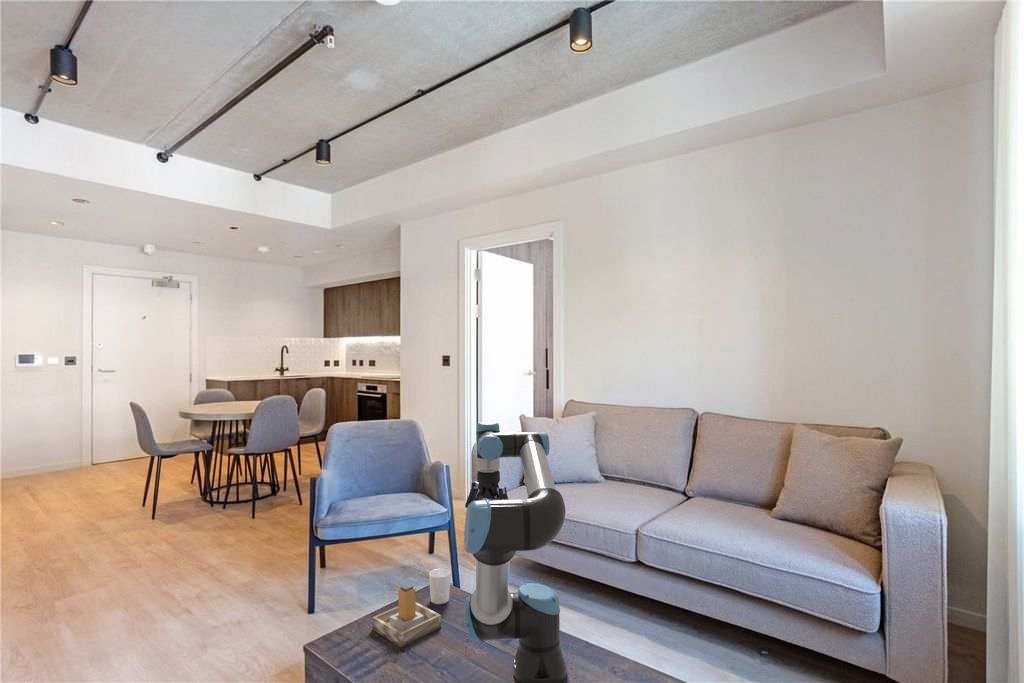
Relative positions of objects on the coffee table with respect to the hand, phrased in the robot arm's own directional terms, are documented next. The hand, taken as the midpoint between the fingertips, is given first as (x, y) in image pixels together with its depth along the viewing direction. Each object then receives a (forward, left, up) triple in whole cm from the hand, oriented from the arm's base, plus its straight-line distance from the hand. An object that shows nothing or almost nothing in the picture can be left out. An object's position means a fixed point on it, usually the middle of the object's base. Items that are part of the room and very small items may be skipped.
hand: (489, 535), depth 167 cm
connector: (+23, +16, -31) cm, 41 cm away
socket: (+23, +16, -32) cm, 42 cm away
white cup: (+30, -4, -32) cm, 44 cm away
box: (+23, +16, -32) cm, 42 cm away
